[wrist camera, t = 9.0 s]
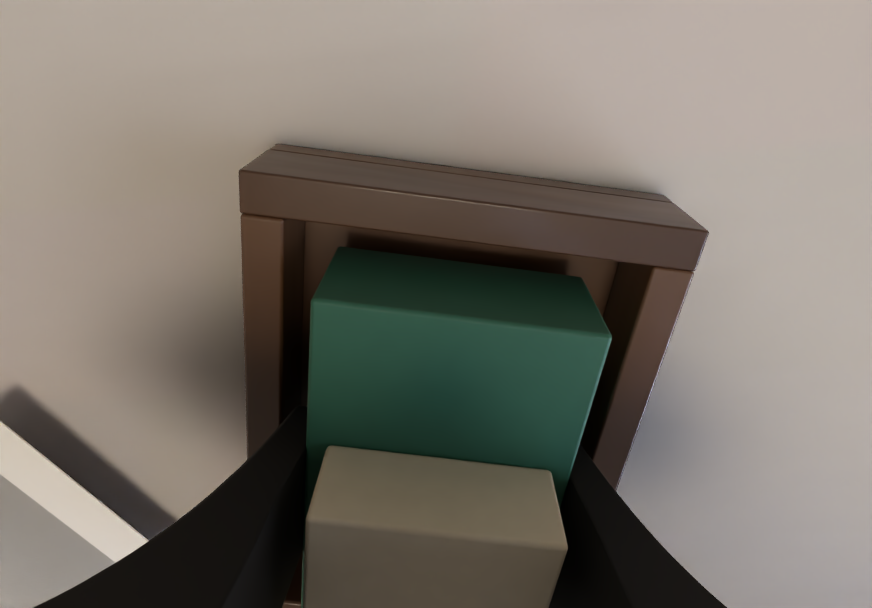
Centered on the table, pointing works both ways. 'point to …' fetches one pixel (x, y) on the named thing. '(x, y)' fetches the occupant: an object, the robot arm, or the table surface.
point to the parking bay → (465, 242)
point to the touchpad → (51, 528)
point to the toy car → (442, 430)
